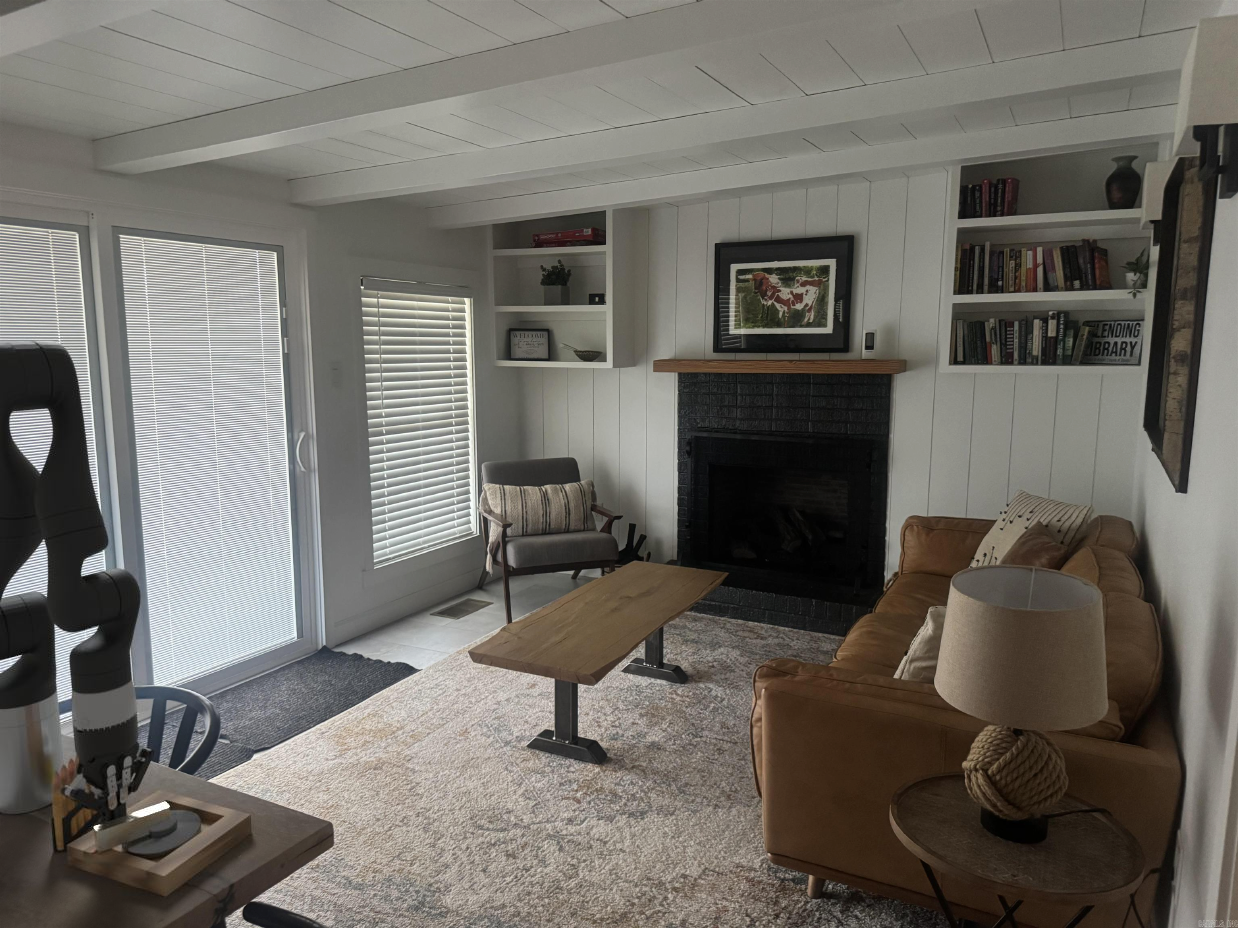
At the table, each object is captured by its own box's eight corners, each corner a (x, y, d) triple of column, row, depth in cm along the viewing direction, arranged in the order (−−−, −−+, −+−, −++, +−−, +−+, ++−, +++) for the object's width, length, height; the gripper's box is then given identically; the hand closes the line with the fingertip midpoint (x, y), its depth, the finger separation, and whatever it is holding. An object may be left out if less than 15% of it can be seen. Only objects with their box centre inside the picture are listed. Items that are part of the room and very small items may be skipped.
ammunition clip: (66, 851, 117) (58, 774, 115) (52, 852, 116) (44, 774, 115) (108, 809, 127) (102, 737, 125) (96, 809, 127) (89, 737, 125)
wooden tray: (66, 865, 114) (64, 844, 113) (161, 807, 128) (159, 788, 127) (164, 897, 108) (162, 875, 107) (251, 832, 122) (250, 812, 121)
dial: (189, 809, 124) (187, 780, 124) (210, 838, 117) (208, 808, 117) (89, 844, 116) (86, 813, 115) (106, 878, 108) (103, 846, 108)
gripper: (128, 689, 120) (136, 798, 123) (37, 730, 108) (49, 849, 110) (166, 698, 117) (174, 808, 120) (79, 740, 105) (90, 862, 108)
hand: (114, 828), depth 115 cm, fingers closed
